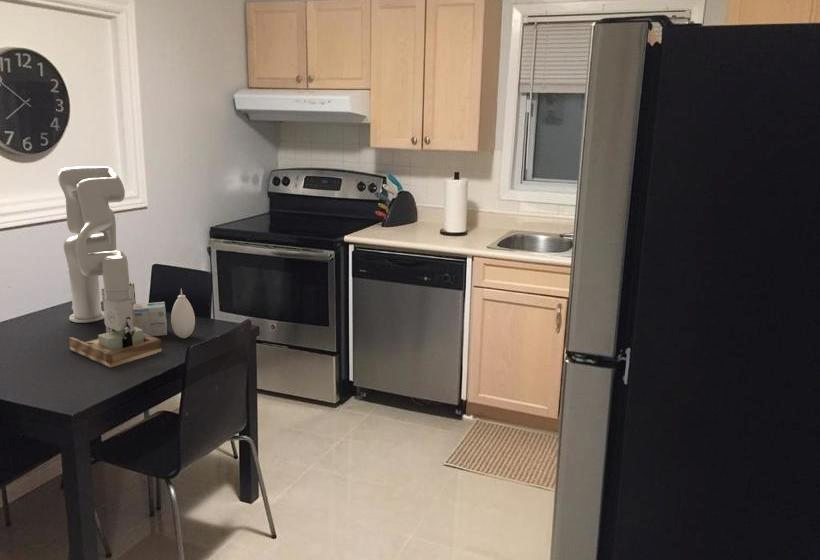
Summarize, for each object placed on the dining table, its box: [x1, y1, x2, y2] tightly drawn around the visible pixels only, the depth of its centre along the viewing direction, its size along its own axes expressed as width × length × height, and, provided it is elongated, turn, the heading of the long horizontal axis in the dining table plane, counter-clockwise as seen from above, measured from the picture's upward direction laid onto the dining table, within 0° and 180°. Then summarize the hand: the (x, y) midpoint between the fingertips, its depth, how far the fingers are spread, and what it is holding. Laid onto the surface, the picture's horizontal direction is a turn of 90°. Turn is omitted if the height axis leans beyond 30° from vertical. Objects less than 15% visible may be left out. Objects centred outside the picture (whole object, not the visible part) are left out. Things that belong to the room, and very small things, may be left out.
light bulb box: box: [133, 301, 168, 337], centre depth 232 cm, size 11×7×11 cm, turn 111°
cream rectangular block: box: [97, 327, 144, 351], centre depth 213 cm, size 6×12×6 cm, turn 143°
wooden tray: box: [68, 327, 163, 368], centre depth 216 cm, size 24×18×4 cm
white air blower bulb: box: [170, 288, 196, 339], centre depth 228 cm, size 8×8×18 cm
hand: (122, 346), depth 214 cm, fingers closed on cream rectangular block, 6 cm apart
